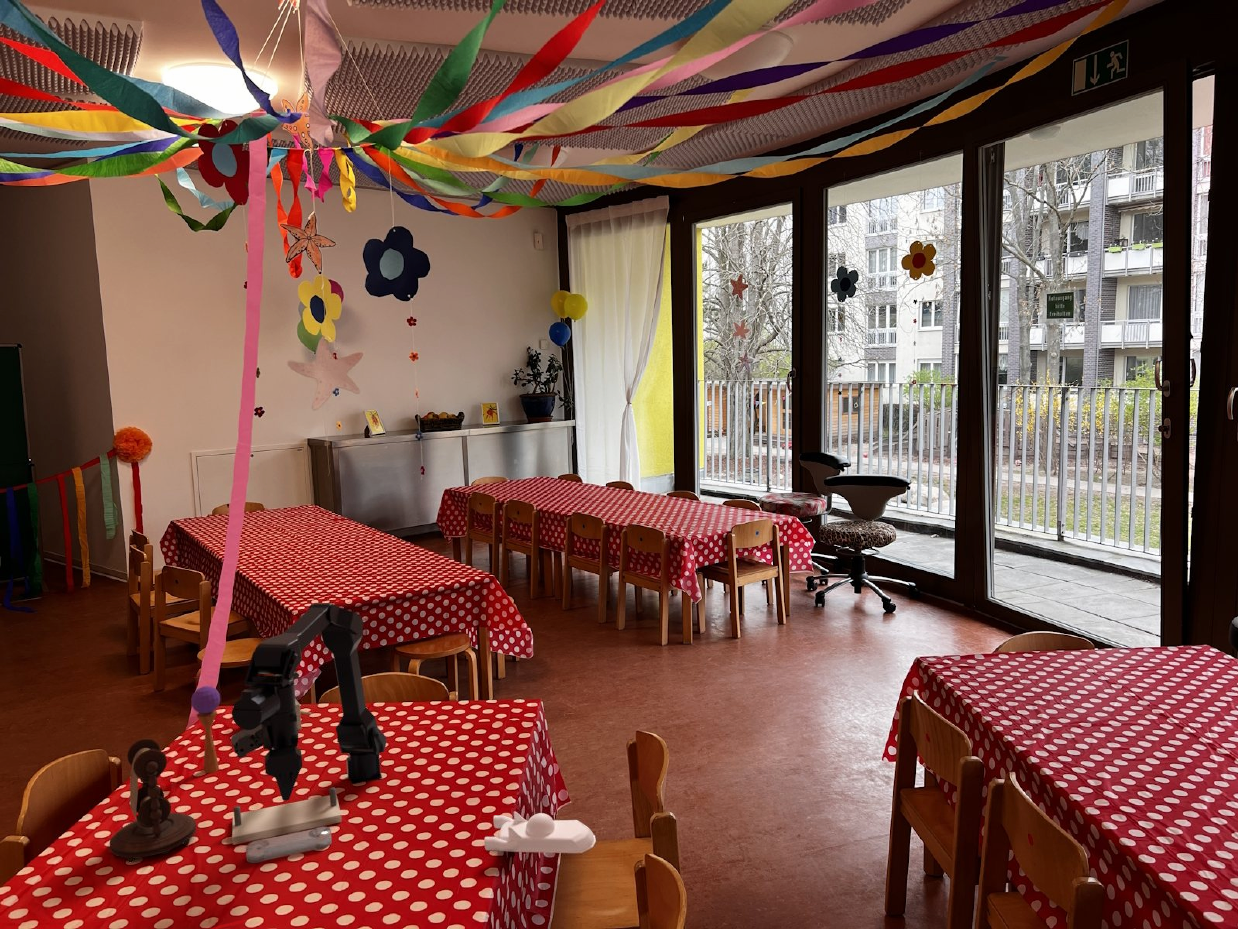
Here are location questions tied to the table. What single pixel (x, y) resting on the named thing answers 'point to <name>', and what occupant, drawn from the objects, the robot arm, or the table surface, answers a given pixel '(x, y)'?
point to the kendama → (207, 722)
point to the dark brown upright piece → (150, 809)
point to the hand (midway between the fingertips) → (285, 789)
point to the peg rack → (285, 818)
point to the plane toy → (540, 835)
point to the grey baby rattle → (288, 844)
